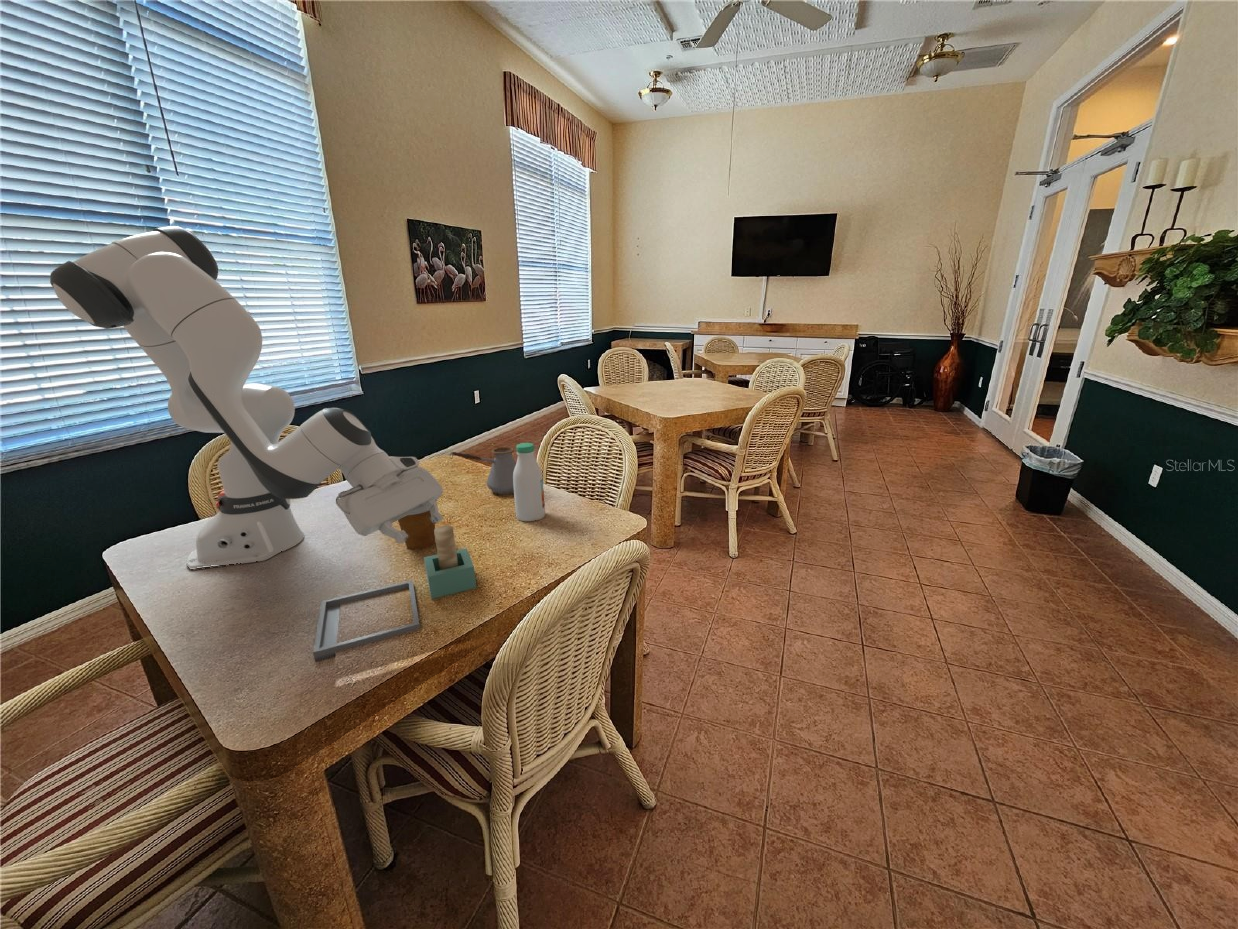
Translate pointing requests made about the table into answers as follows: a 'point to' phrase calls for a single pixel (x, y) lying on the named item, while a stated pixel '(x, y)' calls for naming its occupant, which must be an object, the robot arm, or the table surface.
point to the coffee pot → (498, 469)
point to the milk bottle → (528, 485)
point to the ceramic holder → (450, 575)
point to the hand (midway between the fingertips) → (422, 530)
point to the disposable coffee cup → (418, 529)
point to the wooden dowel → (446, 547)
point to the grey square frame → (328, 637)
